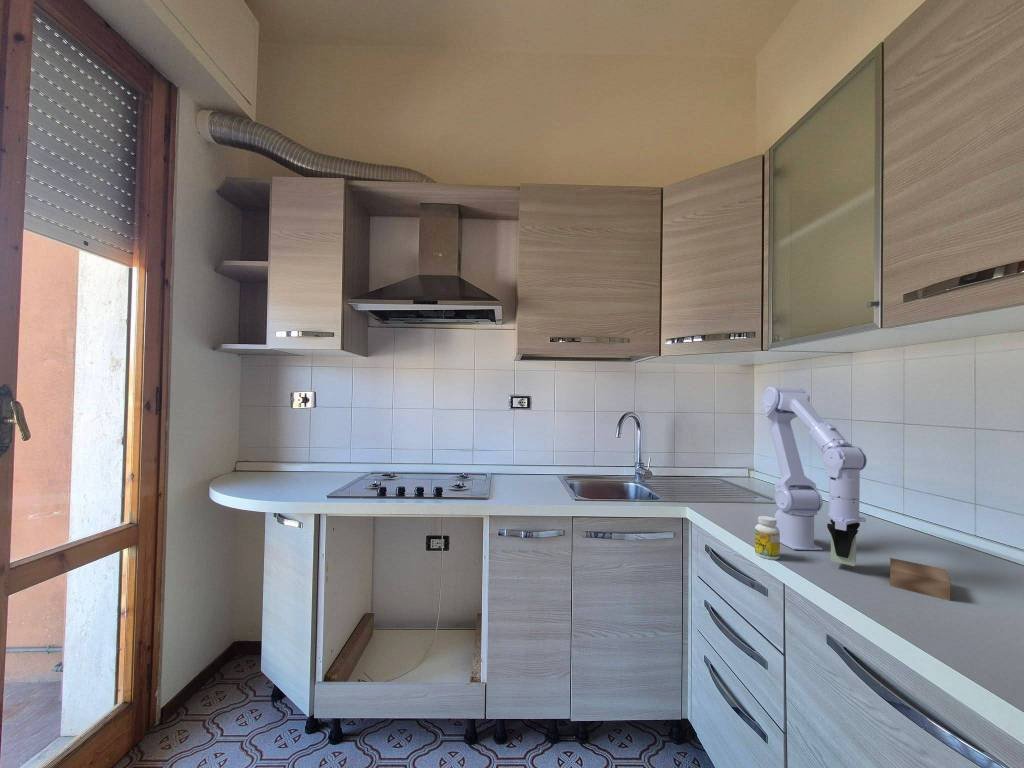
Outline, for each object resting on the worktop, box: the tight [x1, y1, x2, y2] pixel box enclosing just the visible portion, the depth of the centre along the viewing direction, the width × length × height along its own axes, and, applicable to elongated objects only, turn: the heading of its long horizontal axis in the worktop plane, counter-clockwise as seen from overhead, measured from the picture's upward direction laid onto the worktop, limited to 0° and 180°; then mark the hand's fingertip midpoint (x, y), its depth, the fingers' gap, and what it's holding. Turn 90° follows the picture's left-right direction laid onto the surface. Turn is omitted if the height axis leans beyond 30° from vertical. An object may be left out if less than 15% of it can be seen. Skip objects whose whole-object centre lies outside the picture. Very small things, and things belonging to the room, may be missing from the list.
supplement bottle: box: [754, 515, 781, 561], centre depth 105 cm, size 5×5×10 cm
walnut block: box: [889, 557, 951, 602], centre depth 90 cm, size 9×9×4 cm
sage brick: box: [830, 535, 857, 567], centre depth 99 cm, size 4×4×6 cm
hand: (843, 553), depth 99 cm, fingers closed on sage brick, 4 cm apart
